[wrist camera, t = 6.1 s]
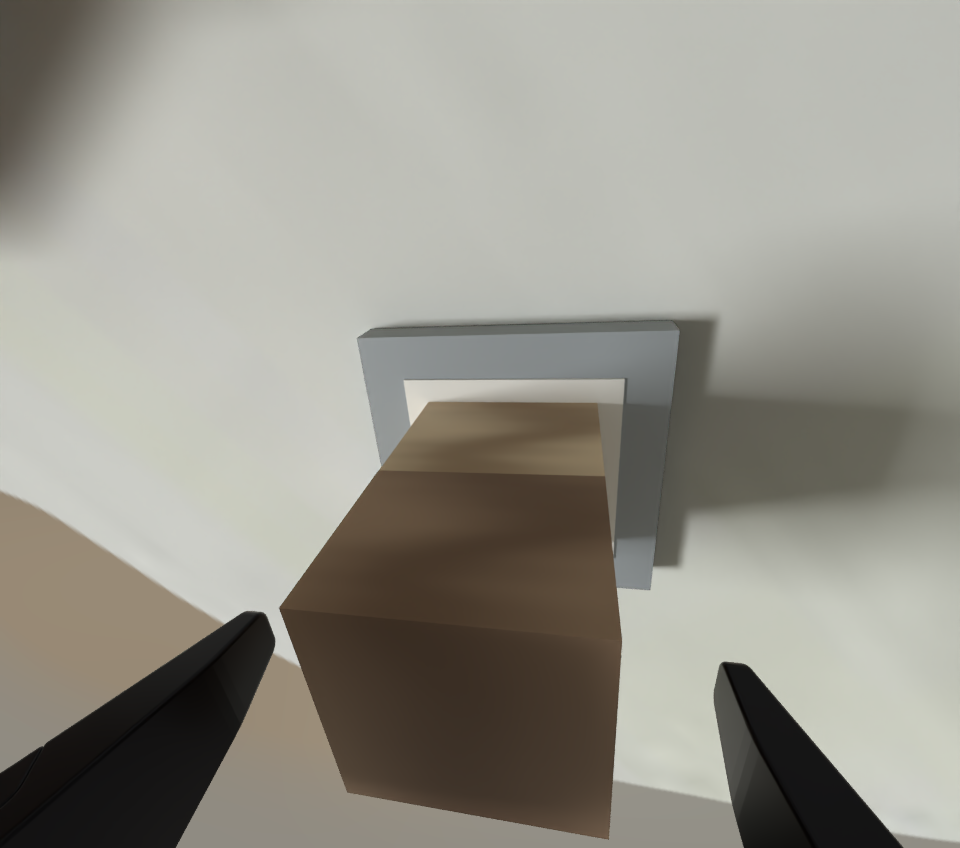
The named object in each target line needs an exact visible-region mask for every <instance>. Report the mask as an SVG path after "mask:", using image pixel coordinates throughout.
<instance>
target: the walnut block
mask: <svg viewBox="0 0 960 848" xmlns="http://www.w3.org/2000/svg"><path fill="white" fill-rule="evenodd" d="M279 609H280V612H281V615H282V617H283V620H284V623H285V625H286V628H287V631H288V634H289V636H290V639H291V642H292V644H293V647H294V650H295V652H296V655H297V658H298V661H299V663H300V666H301V669H302V671H303V674H304V677H305V679H306V682H307V685H308V687H309V690H310V693H311V695H312V698H313V701H314V704H315V706H316V709H317V712H318V714H319V717H320V720H321V722H322V725H323V728H324V730H325V733H326V736H327V739H328V741H329V744H330V747H331V749H332V752H333V755H334V757H335V760H336V763H337V766H338V768H339V771H340V774H341V777H342V779H343V782H344V785H345V787H346V790H347V792H348V793H354V794H359V795H365V796H370V797H376V798H382V799H387V800H392V801H398V802H403V803H409V804H414V805H420V806H426V807H431V808H437V809H442V810H448V811H454V812H459V813H464V814H470V815H476V816H481V817H486V818H492V819H497V820H503V821H509V822H515V823H520V824H525V825H531V826H536V827H542V828H547V829H553V830H558V831H564V832H569V833H575V834H580V835H587V836H591V837H597V838H603V839H609V828H610V814H611V813H610V812H611V798H612V784H613V769H614V754H615V739H616V724H617V709H618V694H619V679H620V664H621V649H622V636H621V626H620V616H619V607H618V597H617V587H616V577H615V568H614V558H613V548H612V538H611V529H610V519H609V509H608V499H607V490H606V480H605V476H577V475H539V474H500V473H462V472H423V471H385V470H379V471H378V472H377V473H376V475H375V476H374V478H373V479H372V480H371V482H370V483H369V484H368V486H367V487H366V489H365V490H364V491H363V493H362V494H361V496H360V497H359V498H358V500H357V501H356V502H355V504H354V505H353V507H352V508H351V509H350V511H349V512H348V514H347V515H346V516H345V518H344V519H343V520H342V522H341V523H340V525H339V526H338V527H337V529H336V530H335V531H334V533H333V534H332V536H331V537H330V538H329V540H328V541H327V543H326V544H325V545H324V547H323V548H322V549H321V551H320V552H319V554H318V555H317V556H316V558H315V559H314V561H313V562H312V563H311V565H310V566H309V567H308V569H307V570H306V572H305V573H304V574H303V576H302V577H301V578H300V580H299V581H298V583H297V584H296V585H295V587H294V588H293V590H292V591H291V592H290V594H289V595H288V596H287V598H286V599H285V601H284V602H283V603H282V605H281V606H280V608H279Z"/></svg>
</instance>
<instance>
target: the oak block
mask: <svg viewBox="0 0 960 848" xmlns="http://www.w3.org/2000/svg"><path fill="white" fill-rule="evenodd" d="M380 470H385V471H423V472H462V473H500V474H539V475H577V476H605V472H604V462H603V452H602V443H601V433H600V423H599V413H598V403H546V402H428V403H427V405H426V406H425V407H424V409H423V410H422V412H421V413H420V414H419V416H418V417H417V419H416V420H415V421H414V423H413V424H412V425H411V427H410V428H409V430H408V431H407V432H406V434H405V435H404V437H403V438H402V439H401V441H400V442H399V443H398V445H397V446H396V448H395V449H394V450H393V452H392V453H391V455H390V456H389V457H388V459H387V460H386V461H385V463H384V464H383V466H382V467H381V468H380Z"/></svg>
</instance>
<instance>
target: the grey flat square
mask: <svg viewBox="0 0 960 848" xmlns="http://www.w3.org/2000/svg"><path fill="white" fill-rule="evenodd" d="M679 334H680V330H679V329H678V327H677V326H676V325H675V323H674V322H673V321H672V320H666V321H630V322H595V323H560V324H524V325H489V326H454V327H419V328H383V329H370V330H369V331H367V332H366V333H364V334H362V335H361V336H359V337H358V338H357V342H358V347H359V352H360V358H361V363H362V368H363V373H364V379H365V384H366V389H367V394H368V399H369V405H370V410H371V415H372V420H373V426H374V431H375V436H376V441H377V446H378V452H379V457H380V462H381V467H382V466H383V464H384V463H385V461H386V460H387V459H388V457H389V456H390V455H391V453H392V452H393V450H394V449H395V448H396V446H397V445H398V443H399V442H400V441H401V439H402V438H403V437H404V435H405V434H406V432H407V431H408V430H409V428H410V427H411V425H412V424H413V423H414V421H415V420H416V419H417V417H418V416H419V414H420V413H421V412H422V410H423V409H424V407H425V406H426V405H427V403H428V402H546V403H598V413H599V423H600V433H601V443H602V452H603V462H604V472H605V480H606V490H607V499H608V509H609V519H610V529H611V538H612V548H613V558H614V568H615V577H616V587H617V588H628V589H640V590H650V588H651V579H652V570H653V562H654V553H655V544H656V535H657V527H658V518H659V509H660V500H661V492H662V483H663V474H664V465H665V456H666V448H667V439H668V430H669V421H670V413H671V404H672V395H673V386H674V378H675V369H676V360H677V351H678V343H679Z"/></svg>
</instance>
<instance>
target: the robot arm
mask: <svg viewBox="0 0 960 848" xmlns="http://www.w3.org/2000/svg"><path fill="white" fill-rule="evenodd" d="M274 648H275V636H274V634H273V631H272V628H271V626H270V623H269V621H268V618H267V616H266V614H264V613H263V612H256V611H245V612H243V613H241V614H240V615H238V616H237V617H235V618H234V619H232V620H231V621H229V622H228V623H226V624H225V625H223V626H222V627H220V628H219V629H217V630H216V631H214V632H213V633H211V634H210V635H208V636H207V637H205V638H203V639H202V640H200V641H199V642H197V643H196V644H195V645H193V646H191V647H190V648H188V649H187V650H186V651H184V652H182V653H181V654H180V655H178V656H177V657H175V658H174V659H172V660H170V661H169V662H167V663H166V664H164V665H163V666H161V667H160V668H158V669H157V670H155V671H154V672H152V673H151V674H149V675H148V676H146V677H145V678H143V679H142V680H140V681H139V682H137V683H136V684H134V685H133V686H131V687H130V688H128V689H127V690H125V691H124V692H122V693H121V694H119V695H118V696H116V697H115V698H113V699H112V700H110V701H109V702H107V703H106V704H104V705H103V706H101V707H100V708H98V709H97V710H95V711H94V712H92V713H91V714H89V715H88V716H86V717H85V718H83V719H81V720H80V721H78V722H77V723H75V724H74V725H73V726H71V727H69V728H68V729H66V730H65V731H63V732H62V733H60V734H59V735H57V736H56V737H54V738H53V739H51V740H50V741H48V742H47V743H46V744H45V745H44V747H43V746H42V747H39V748H38V749H36V750H35V751H33V752H32V753H30V754H29V755H27V756H26V757H24V758H23V759H21V760H20V761H18V762H17V763H15V764H14V765H12V766H10V767H9V768H7V769H6V770H4V771H3V772H1V773H0V848H176V846H177V844H178V842H179V841H180V839H181V837H182V835H183V833H184V831H185V829H186V828H187V826H188V824H189V822H190V820H191V818H192V816H193V814H194V813H195V811H196V809H197V807H198V805H199V803H200V801H201V800H202V798H203V796H204V794H205V792H206V790H207V788H208V786H209V785H210V783H211V781H212V779H213V777H214V775H215V774H216V772H217V770H218V768H219V766H220V764H221V762H222V761H223V759H224V757H225V755H226V753H227V751H228V749H229V747H230V745H231V744H232V742H233V740H234V738H235V736H236V734H237V732H238V730H239V728H240V726H241V724H242V722H243V720H244V717H245V716H246V713H247V711H248V709H249V707H250V704H251V702H252V700H253V698H254V695H255V693H256V690H257V688H258V686H259V684H260V681H261V679H262V677H263V674H264V672H265V670H266V667H267V665H268V663H269V660H270V658H271V656H272V653H273V651H274ZM714 706H715V712H716V718H717V723H718V729H719V734H720V740H721V746H722V751H723V757H724V763H725V768H726V774H727V779H728V785H729V790H730V796H731V801H732V806H733V809H734V813H735V817H736V821H737V825H738V828H739V832H740V836H741V839H742V842H743V846H744V848H903V847H902V845H901V844H900V843H899V842H898V841H897V839H896V838H895V837H894V836H893V835H892V834H891V832H890V831H889V830H888V829H887V828H886V827H885V825H884V824H883V823H882V822H881V821H880V819H879V818H878V817H877V816H876V815H875V814H874V812H873V811H872V810H871V809H870V808H869V807H868V805H867V804H866V803H865V802H864V801H863V800H862V798H861V797H860V796H859V795H858V794H857V792H856V791H855V790H854V789H853V788H852V787H851V785H850V784H849V783H848V782H847V781H846V780H845V778H844V777H843V776H842V775H841V774H840V773H839V771H838V770H837V769H836V768H835V767H834V765H833V764H832V763H831V762H830V761H829V760H828V758H827V757H826V756H825V755H824V754H823V753H822V751H821V750H820V749H819V748H818V747H817V745H816V744H815V743H814V742H813V741H812V740H811V738H810V737H809V736H808V735H807V734H806V733H805V731H804V730H803V729H802V728H801V727H800V726H799V724H798V723H797V722H796V721H795V720H794V718H793V717H792V716H791V715H790V714H789V713H788V711H787V710H786V709H785V708H784V707H783V706H782V704H781V703H780V702H779V701H778V700H777V699H776V697H775V696H774V695H773V694H772V693H771V691H770V690H769V689H768V688H767V687H766V686H765V684H764V683H763V682H762V681H761V680H760V679H759V677H758V676H757V675H756V674H755V673H754V672H753V670H752V669H751V668H750V667H749V666H747V665H746V664H742V663H734V662H722V663H721V664H720V666H719V670H718V675H717V679H716V684H715V688H714Z"/></svg>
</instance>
